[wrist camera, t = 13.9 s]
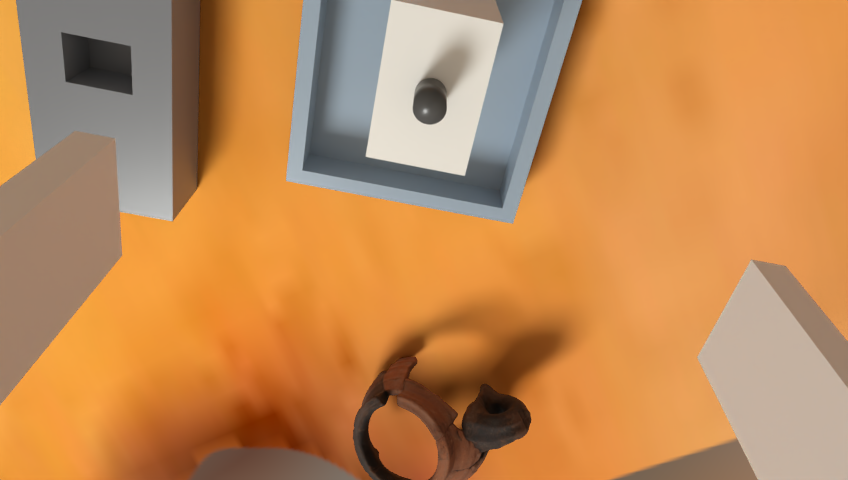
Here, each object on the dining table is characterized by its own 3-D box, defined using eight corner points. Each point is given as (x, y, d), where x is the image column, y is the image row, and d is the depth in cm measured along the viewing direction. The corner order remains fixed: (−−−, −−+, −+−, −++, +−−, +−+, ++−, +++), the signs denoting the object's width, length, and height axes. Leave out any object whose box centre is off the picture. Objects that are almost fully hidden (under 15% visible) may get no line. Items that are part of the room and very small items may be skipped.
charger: (406, -40, 31) (387, 8, 21) (487, -23, 31) (507, 34, 21) (385, 80, 34) (361, 173, 24) (459, 96, 34) (465, 194, 24)
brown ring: (427, 460, 51) (371, 521, 44) (383, 349, 50) (320, 392, 43) (567, 438, 45) (529, 504, 38) (518, 312, 44) (471, 355, 37)
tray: (334, -204, 28) (323, -210, 26) (609, -139, 29) (625, -139, 26) (297, 158, 37) (286, 180, 34) (508, 198, 38) (512, 223, 35)
